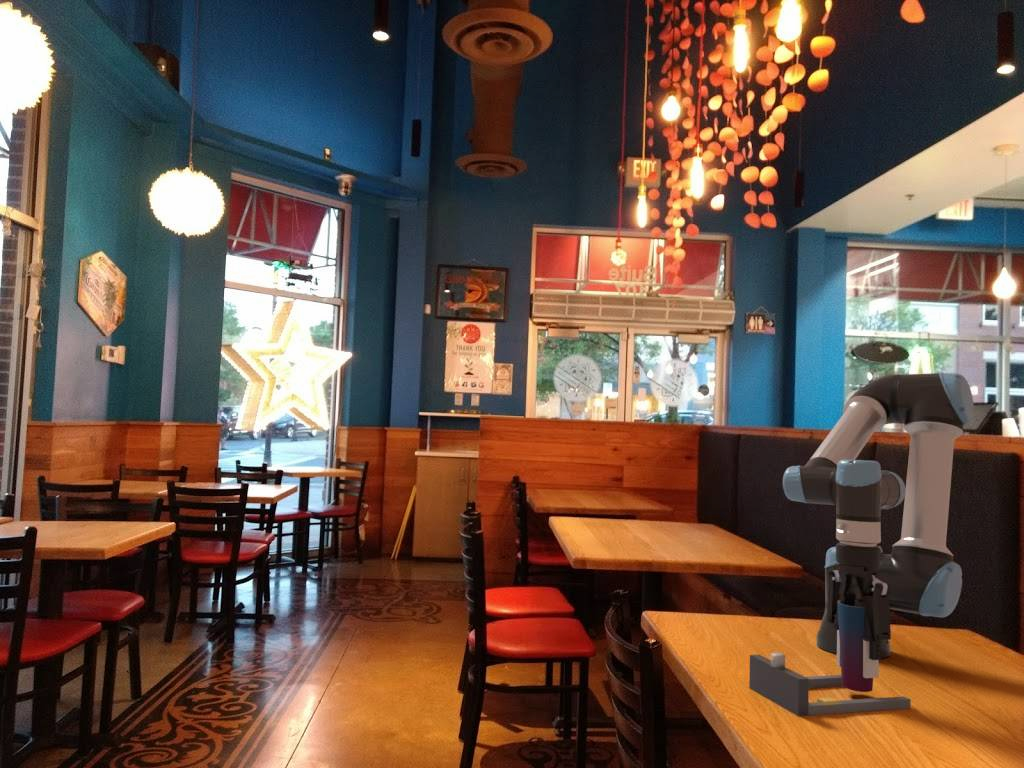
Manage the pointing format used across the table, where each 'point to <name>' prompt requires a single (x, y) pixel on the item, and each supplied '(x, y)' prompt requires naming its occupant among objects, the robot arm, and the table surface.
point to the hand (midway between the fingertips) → (857, 671)
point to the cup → (852, 647)
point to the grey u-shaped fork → (794, 690)
